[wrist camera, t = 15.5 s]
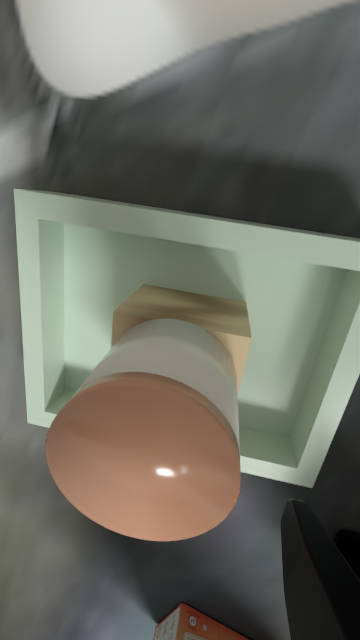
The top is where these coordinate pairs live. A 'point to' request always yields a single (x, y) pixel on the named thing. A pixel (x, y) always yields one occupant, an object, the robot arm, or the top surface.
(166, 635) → the cracker box
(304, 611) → the robot arm
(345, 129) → the top surface
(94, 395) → the cream tub
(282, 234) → the green tote
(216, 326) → the oak block
